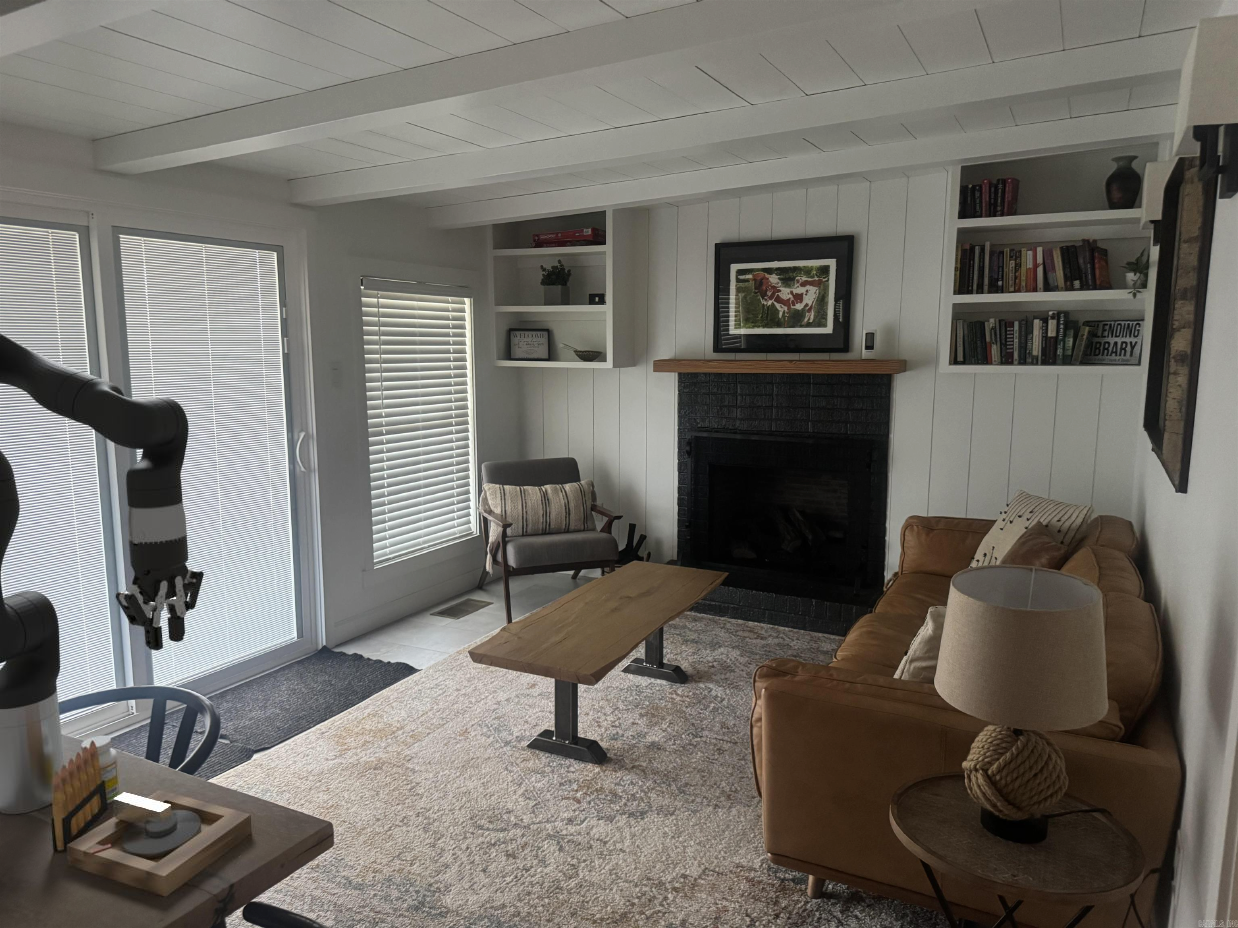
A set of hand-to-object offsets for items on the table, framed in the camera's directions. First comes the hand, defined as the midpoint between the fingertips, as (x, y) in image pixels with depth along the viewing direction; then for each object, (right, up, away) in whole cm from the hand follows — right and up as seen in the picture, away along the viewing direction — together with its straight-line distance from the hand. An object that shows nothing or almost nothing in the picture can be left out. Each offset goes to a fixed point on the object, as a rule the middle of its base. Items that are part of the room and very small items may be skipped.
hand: (166, 644), depth 123 cm
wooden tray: (+2, -28, -5) cm, 29 cm away
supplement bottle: (-14, -26, +7) cm, 31 cm away
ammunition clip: (-12, -28, -1) cm, 30 cm away
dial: (+1, -27, -5) cm, 27 cm away
